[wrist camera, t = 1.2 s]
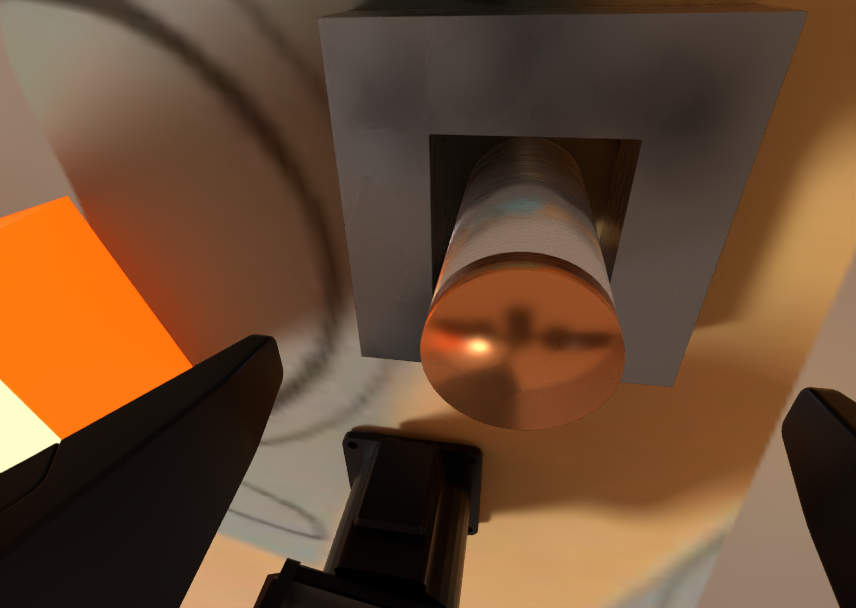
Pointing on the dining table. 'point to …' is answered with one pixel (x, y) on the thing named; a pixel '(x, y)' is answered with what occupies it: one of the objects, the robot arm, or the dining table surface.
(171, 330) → the dining table surface
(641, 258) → the grey flat square frame
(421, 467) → the robot arm
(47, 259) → the orange juice
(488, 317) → the pin
